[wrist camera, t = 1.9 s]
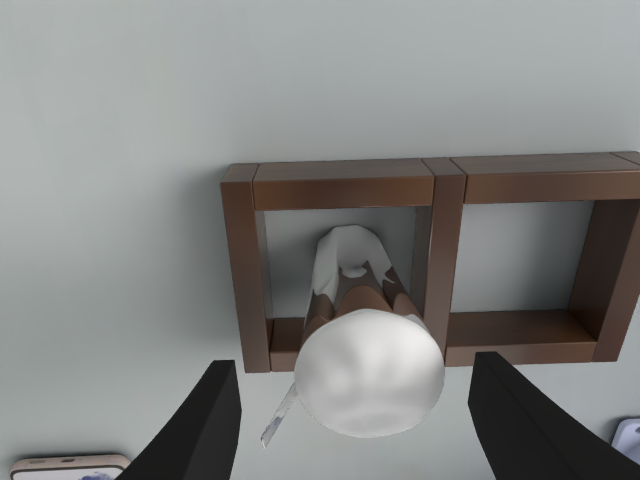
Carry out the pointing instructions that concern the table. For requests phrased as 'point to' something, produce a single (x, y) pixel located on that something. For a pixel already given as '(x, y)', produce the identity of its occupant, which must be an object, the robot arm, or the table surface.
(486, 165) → the crate
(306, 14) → the table surface
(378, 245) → the milkshake
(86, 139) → the table surface
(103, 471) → the smartphone
